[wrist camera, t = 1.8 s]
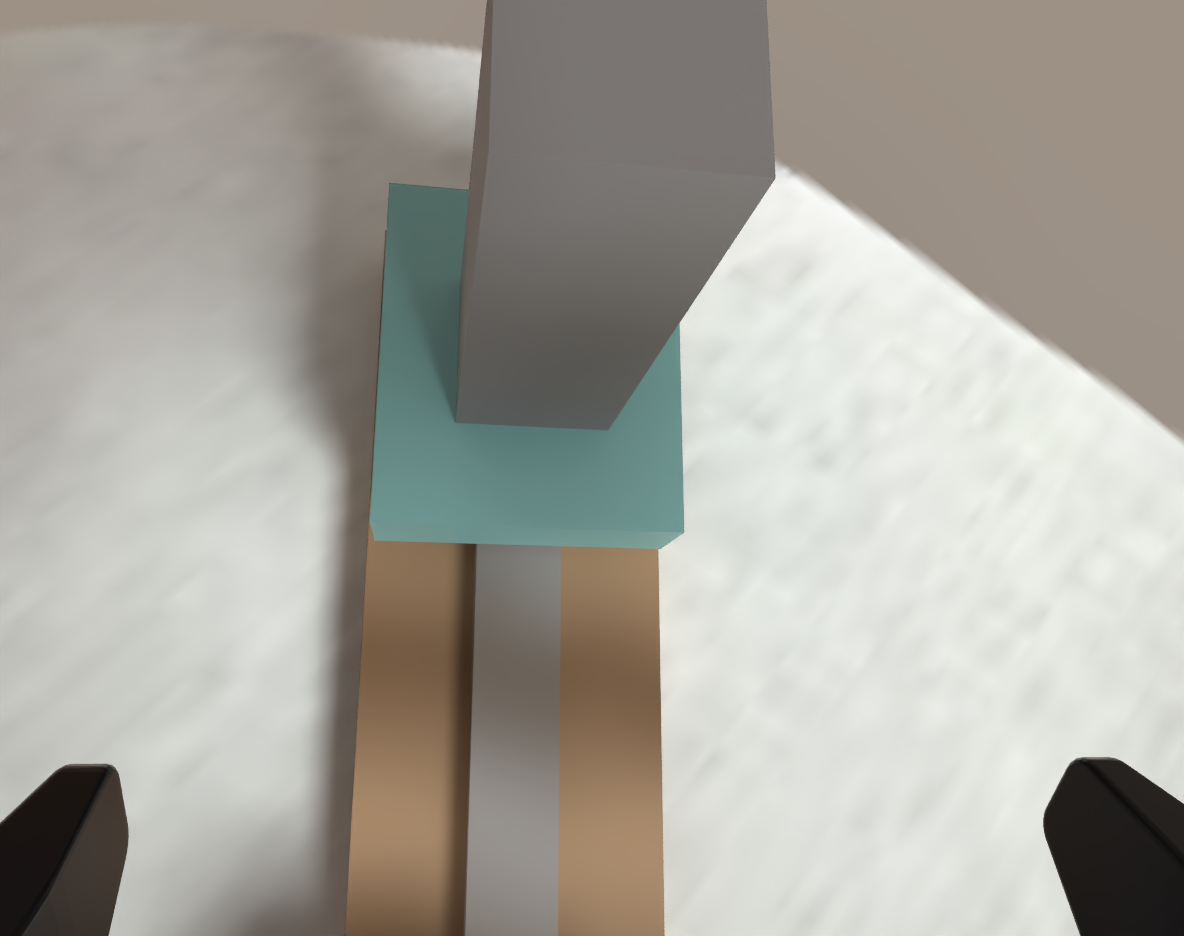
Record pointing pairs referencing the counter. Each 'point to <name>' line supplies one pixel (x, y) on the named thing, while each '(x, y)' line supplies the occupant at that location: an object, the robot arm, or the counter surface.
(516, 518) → the carriage
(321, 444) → the counter surface
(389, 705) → the rail
